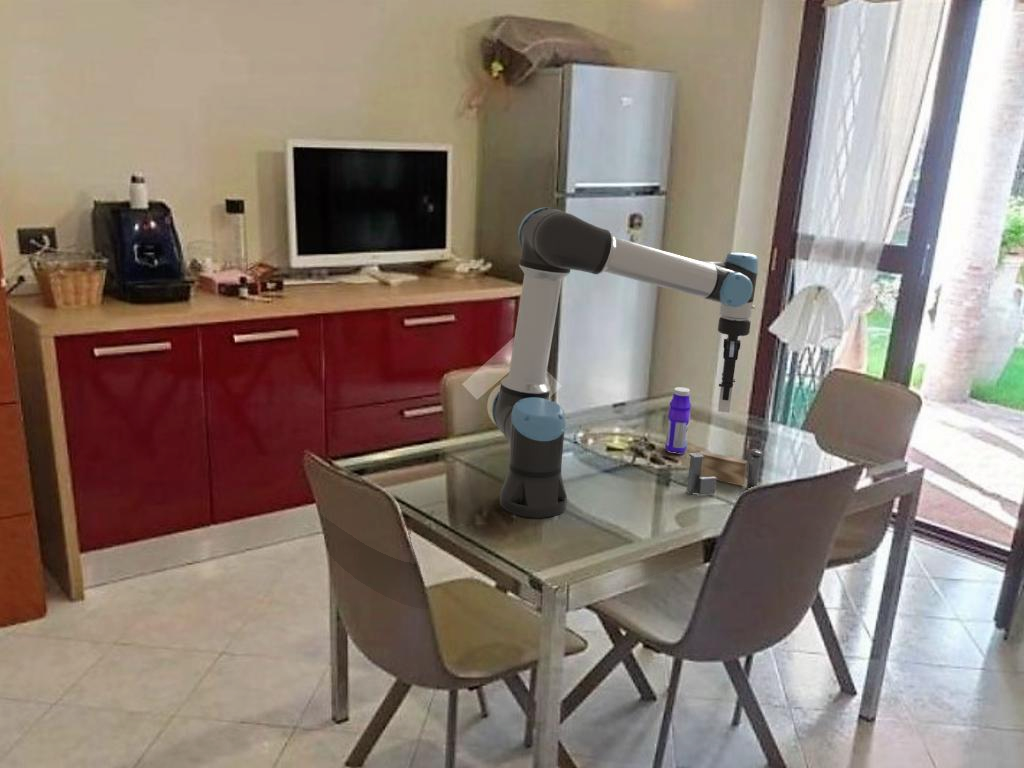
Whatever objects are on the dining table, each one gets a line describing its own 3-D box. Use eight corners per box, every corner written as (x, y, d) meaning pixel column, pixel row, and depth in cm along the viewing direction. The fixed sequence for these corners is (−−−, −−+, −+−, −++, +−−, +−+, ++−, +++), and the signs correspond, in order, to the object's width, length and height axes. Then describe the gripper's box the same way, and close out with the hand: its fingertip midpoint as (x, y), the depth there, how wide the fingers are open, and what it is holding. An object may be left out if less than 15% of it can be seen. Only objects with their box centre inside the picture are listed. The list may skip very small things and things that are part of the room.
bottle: (685, 456, 236) (693, 393, 231) (664, 454, 237) (670, 391, 232) (686, 447, 243) (693, 386, 238) (665, 445, 244) (671, 384, 239)
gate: (744, 482, 219) (747, 460, 217) (742, 486, 217) (745, 463, 215) (694, 471, 224) (697, 449, 223) (691, 474, 222) (694, 452, 221)
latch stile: (692, 497, 210) (697, 459, 207) (684, 490, 213) (689, 453, 211) (714, 495, 211) (719, 457, 209) (706, 489, 215) (711, 451, 212)
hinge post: (749, 491, 215) (754, 454, 212) (742, 486, 218) (747, 449, 215) (760, 490, 216) (765, 453, 213) (753, 485, 219) (758, 448, 216)
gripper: (751, 325, 207) (739, 421, 214) (750, 312, 222) (738, 402, 229) (718, 322, 209) (707, 417, 216) (719, 309, 224) (709, 398, 231)
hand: (723, 409), depth 222 cm, fingers open, 3 cm apart
